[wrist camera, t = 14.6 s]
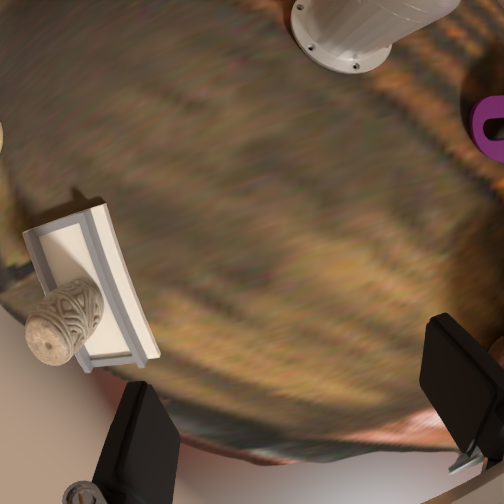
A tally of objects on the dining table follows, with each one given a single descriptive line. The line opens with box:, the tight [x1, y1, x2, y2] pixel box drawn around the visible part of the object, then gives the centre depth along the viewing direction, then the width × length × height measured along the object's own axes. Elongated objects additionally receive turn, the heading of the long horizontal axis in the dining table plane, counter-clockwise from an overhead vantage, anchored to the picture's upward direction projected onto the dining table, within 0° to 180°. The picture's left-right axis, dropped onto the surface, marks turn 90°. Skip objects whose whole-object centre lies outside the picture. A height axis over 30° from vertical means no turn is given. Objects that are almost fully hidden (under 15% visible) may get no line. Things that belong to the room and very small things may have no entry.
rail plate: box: [22, 203, 161, 373], centre depth 37 cm, size 22×14×3 cm, turn 12°
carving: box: [24, 278, 104, 366], centre depth 32 cm, size 6×8×12 cm
